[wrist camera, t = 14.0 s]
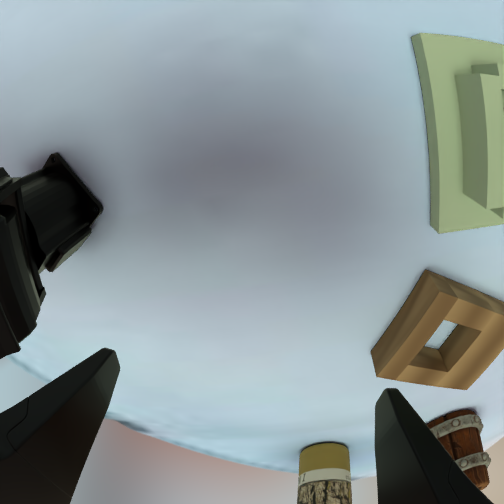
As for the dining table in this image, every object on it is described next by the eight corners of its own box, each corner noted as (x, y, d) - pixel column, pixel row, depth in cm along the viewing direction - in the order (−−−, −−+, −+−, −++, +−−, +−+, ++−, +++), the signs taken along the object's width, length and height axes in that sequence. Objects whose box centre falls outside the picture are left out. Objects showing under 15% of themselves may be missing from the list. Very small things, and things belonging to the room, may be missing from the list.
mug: (457, 444, 33) (460, 522, 21) (383, 442, 37) (374, 528, 24) (496, 403, 28) (512, 491, 15) (416, 399, 31) (418, 505, 18)
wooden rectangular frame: (370, 351, 25) (376, 376, 22) (425, 269, 21) (439, 291, 18) (457, 369, 25) (466, 390, 23) (508, 304, 21) (522, 323, 18)
